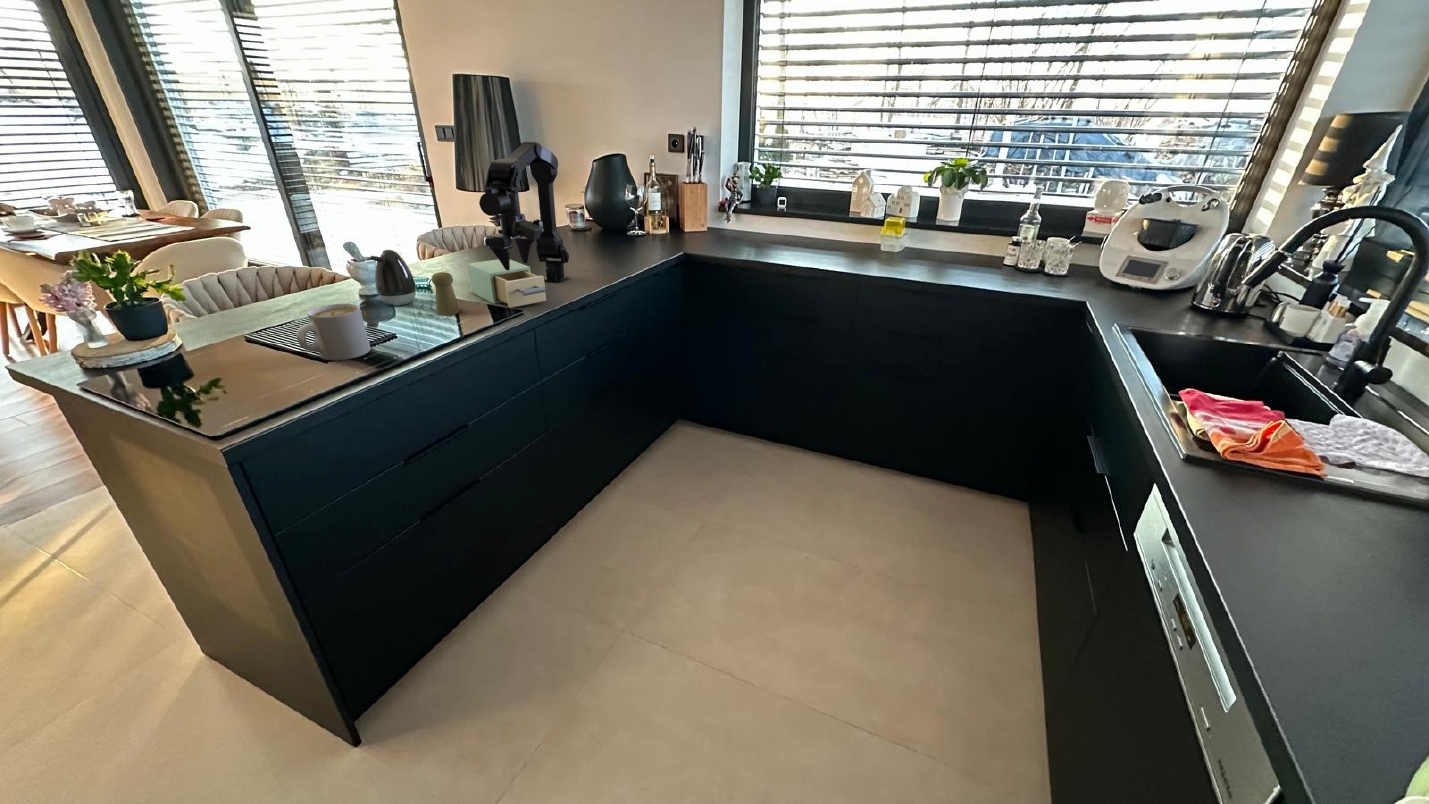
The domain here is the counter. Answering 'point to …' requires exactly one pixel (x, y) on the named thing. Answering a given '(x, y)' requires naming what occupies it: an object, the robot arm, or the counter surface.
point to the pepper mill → (445, 294)
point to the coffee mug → (335, 332)
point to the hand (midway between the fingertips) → (516, 266)
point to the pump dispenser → (393, 279)
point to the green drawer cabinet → (490, 277)
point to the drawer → (519, 288)
